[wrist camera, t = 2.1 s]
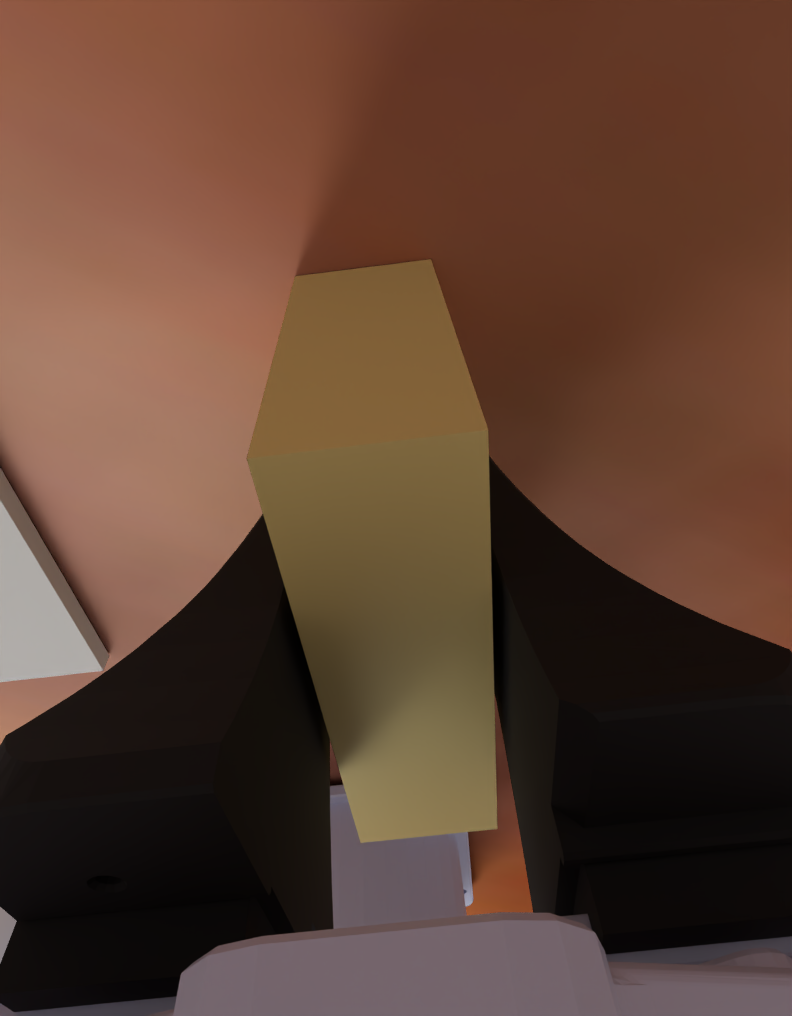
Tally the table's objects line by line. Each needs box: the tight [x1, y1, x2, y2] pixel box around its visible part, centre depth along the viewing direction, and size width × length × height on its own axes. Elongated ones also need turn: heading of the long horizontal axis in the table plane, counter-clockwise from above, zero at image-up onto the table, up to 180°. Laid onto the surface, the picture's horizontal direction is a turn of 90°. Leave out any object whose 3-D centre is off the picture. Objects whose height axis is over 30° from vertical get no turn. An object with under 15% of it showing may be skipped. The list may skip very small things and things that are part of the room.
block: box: [247, 259, 497, 843], centre depth 11 cm, size 8×2×6 cm, turn 6°
